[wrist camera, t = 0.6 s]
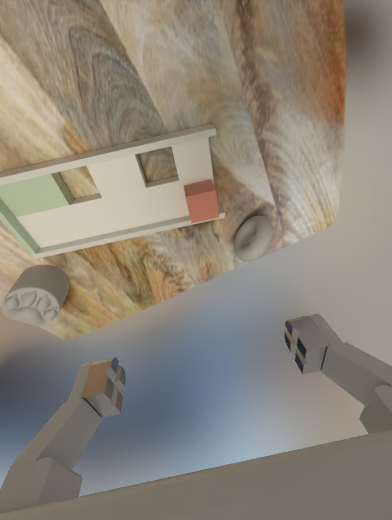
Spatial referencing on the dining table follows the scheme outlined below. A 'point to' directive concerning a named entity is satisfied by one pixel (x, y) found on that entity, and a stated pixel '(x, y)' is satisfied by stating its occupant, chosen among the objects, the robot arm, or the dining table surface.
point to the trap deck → (104, 195)
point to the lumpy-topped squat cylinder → (37, 295)
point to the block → (201, 201)
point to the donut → (260, 241)
